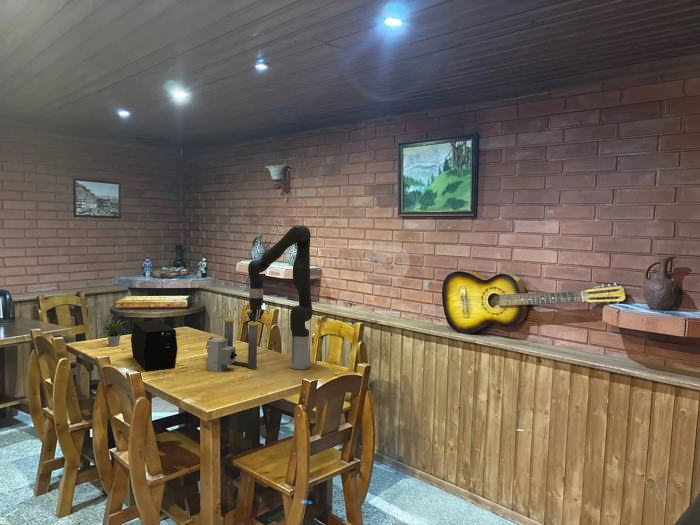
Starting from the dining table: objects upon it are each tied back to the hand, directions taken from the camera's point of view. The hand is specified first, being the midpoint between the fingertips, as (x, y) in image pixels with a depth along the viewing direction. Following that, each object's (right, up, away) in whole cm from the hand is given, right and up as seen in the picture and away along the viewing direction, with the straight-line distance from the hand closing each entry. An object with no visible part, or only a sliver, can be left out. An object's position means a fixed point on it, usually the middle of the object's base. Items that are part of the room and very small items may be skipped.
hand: (255, 327), depth 274 cm
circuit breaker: (-14, -19, -18) cm, 30 cm away
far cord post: (-13, -18, -7) cm, 24 cm away
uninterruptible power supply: (-51, -18, -11) cm, 56 cm away
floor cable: (-6, -19, -10) cm, 22 cm away
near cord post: (+1, -19, -14) cm, 24 cm away
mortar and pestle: (-22, -18, 0) cm, 28 cm away
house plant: (-89, -14, +26) cm, 93 cm away
